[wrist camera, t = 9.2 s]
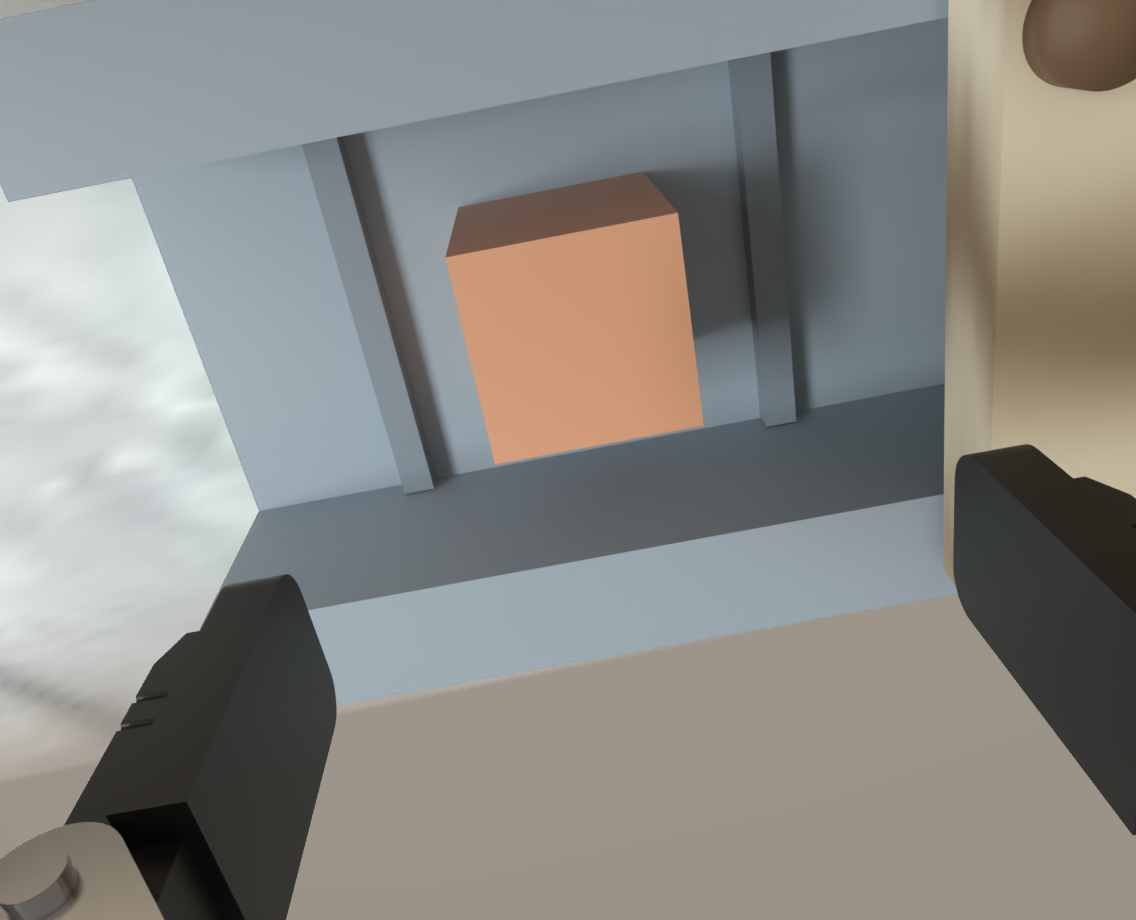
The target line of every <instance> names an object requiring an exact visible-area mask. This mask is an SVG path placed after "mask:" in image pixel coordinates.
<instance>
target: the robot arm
mask: <svg viewBox="0 0 1136 920" xmlns="http://www.w3.org/2000/svg"><path fill="white" fill-rule="evenodd" d="M953 572H954V579H955V585H956V589H957V592H958V596H959V599H960V601H961V604H962V606H963V608H964V610H965V612H966V614H967V616H968V618H969V619H970V620H971V622H972V623H973V624H974V626H975V627H976V629H977V630H978V631H979V632H980V634H981V635H982V636H983V638H984V639H985V640H986V642H987V643H988V644H989V646H990V647H991V648H992V650H993V651H994V652H995V654H996V655H997V656H998V658H999V659H1000V660H1001V662H1002V663H1003V664H1004V666H1005V667H1006V668H1007V669H1008V671H1009V672H1010V673H1011V675H1012V676H1013V677H1014V679H1015V680H1016V681H1017V683H1018V684H1019V685H1020V687H1021V688H1022V689H1023V691H1024V692H1025V693H1026V695H1027V696H1028V697H1029V699H1030V700H1031V701H1032V703H1033V704H1034V705H1035V706H1036V708H1037V709H1038V711H1040V713H1041V714H1042V716H1043V717H1044V718H1045V720H1046V721H1047V722H1048V724H1049V725H1050V726H1051V728H1052V729H1053V730H1054V732H1055V733H1056V734H1057V736H1058V737H1059V738H1060V740H1061V741H1062V742H1063V744H1064V745H1065V746H1066V748H1067V749H1068V750H1069V752H1070V753H1071V754H1072V755H1073V757H1074V758H1075V759H1076V761H1077V762H1078V763H1079V765H1080V766H1081V767H1082V769H1083V770H1084V771H1085V773H1086V774H1087V775H1088V777H1089V778H1090V779H1091V780H1092V782H1093V783H1094V784H1095V786H1096V787H1097V789H1098V790H1099V791H1100V793H1101V794H1102V795H1103V797H1104V798H1105V799H1106V800H1107V802H1108V803H1109V804H1110V806H1111V807H1112V808H1113V810H1114V811H1115V812H1116V814H1117V815H1118V816H1119V818H1120V819H1121V820H1122V822H1123V823H1124V824H1125V826H1126V827H1127V828H1128V830H1129V831H1130V832H1131V833H1132V835H1136V498H1135V497H1133V496H1132V495H1131V494H1128V493H1126V492H1123V491H1121V490H1118V489H1116V488H1113V487H1110V486H1108V485H1105V484H1103V483H1100V482H1098V481H1095V480H1093V479H1090V478H1088V477H1085V476H1084V477H1078V478H1072V477H1071V476H1070V475H1069V474H1067V473H1066V472H1065V471H1064V470H1063V469H1061V468H1060V467H1059V466H1058V465H1057V464H1055V463H1054V462H1053V461H1052V460H1050V459H1049V458H1048V457H1047V456H1046V455H1044V454H1043V453H1042V452H1041V451H1040V450H1038V449H1037V448H1036V447H1034V446H1032V445H1030V444H1023V445H1018V446H1012V447H1007V448H1001V449H995V450H990V451H984V452H978V453H973V454H967V455H963V456H962V457H961V458H959V460H958V462H957V465H956V469H955V484H954V543H953ZM136 700H137V702H136V703H133V704H132V705H131V707H130V708H129V710H128V712H127V714H126V715H125V717H124V719H123V721H122V723H121V731H117V732H116V733H115V735H114V737H113V739H112V741H111V742H110V744H109V746H108V748H107V750H106V751H105V753H104V755H103V757H102V758H101V760H100V762H99V764H98V766H97V767H96V769H95V771H94V773H93V775H92V776H91V778H90V780H89V782H88V784H87V785H86V787H85V789H84V791H83V793H82V794H81V796H80V798H79V800H78V801H77V803H76V805H75V807H74V809H73V810H72V812H71V814H70V816H69V818H68V819H67V821H66V823H65V825H64V826H62V827H59V828H55V829H52V830H50V831H47V832H45V833H43V834H40V835H38V836H36V837H34V838H33V839H31V840H29V841H27V842H25V843H23V844H22V845H20V846H19V847H17V848H15V849H14V850H12V851H11V852H9V853H8V854H7V855H5V856H4V857H3V858H1V859H0V920H286V917H287V913H288V909H289V905H290V901H291V897H292V893H293V890H294V886H295V882H296V878H297V874H298V870H299V866H300V862H301V858H302V854H303V850H304V846H305V842H306V838H307V835H308V831H309V827H310V823H311V819H312V814H313V810H314V807H315V803H316V799H317V795H318V791H319V787H320V783H321V779H322V775H323V771H324V768H325V764H326V760H327V755H328V752H329V748H330V744H331V740H332V736H333V732H334V728H335V723H336V694H335V687H334V682H333V678H332V675H331V672H330V669H329V666H328V663H327V661H326V658H325V655H324V652H323V650H322V647H321V644H320V642H319V639H318V636H317V633H316V631H315V628H314V625H313V622H312V620H311V617H310V614H309V612H308V609H307V606H306V603H305V601H304V598H303V595H302V593H301V590H300V588H299V586H298V584H297V582H296V581H295V579H294V578H293V577H292V576H290V575H289V574H284V575H279V576H273V577H267V578H262V579H256V580H251V581H245V582H239V583H234V584H228V585H226V586H224V587H223V588H222V590H221V591H220V593H219V595H218V597H217V599H216V601H215V603H214V605H213V607H212V609H211V611H210V613H209V615H208V617H207V618H206V620H205V622H204V624H203V626H202V628H201V630H200V631H197V632H191V633H187V634H185V635H184V636H183V637H182V638H181V639H180V640H179V641H178V642H177V643H176V644H175V645H174V646H173V647H172V648H171V649H170V650H169V651H168V652H167V653H165V654H164V655H163V656H162V657H161V658H160V659H159V660H158V661H157V662H156V663H155V664H154V665H153V667H152V669H151V671H150V673H149V674H148V676H147V678H146V680H145V681H144V683H143V685H142V687H141V689H140V690H139V692H138V694H137V696H136Z"/></svg>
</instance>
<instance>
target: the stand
mask: <svg viewBox="0 0 1136 920" xmlns="http://www.w3.org/2000/svg"><path fill="white" fill-rule="evenodd" d="M947 101H948V0H92V1H87V2H82V3H77V4H72V5H67V6H62V7H57V8H53V9H48V10H43V11H38V12H33V13H28V14H23V15H18V16H13V17H8V18H3V19H0V184H1V187H2V189H3V191H4V193H5V196H6V198H7V200H8V202H11V201H16V200H21V199H27V198H32V197H37V196H42V195H47V194H52V193H57V192H62V191H67V190H72V189H77V188H82V187H88V186H93V185H98V184H103V183H108V182H113V181H118V180H123V179H128V178H132V179H133V182H134V185H135V187H136V190H137V193H138V195H139V198H140V200H141V203H142V206H143V208H144V211H145V214H146V216H147V219H148V221H149V224H150V227H151V229H152V232H153V234H154V237H155V240H156V242H157V245H158V248H159V250H160V253H161V255H162V258H163V261H164V263H165V266H166V269H167V271H168V274H169V276H170V279H171V282H172V284H173V287H174V289H175V292H176V295H177V297H178V300H179V303H180V305H181V308H182V310H183V313H184V316H185V318H186V321H187V324H188V326H189V329H190V331H191V334H192V337H193V339H194V342H195V344H196V347H197V350H198V352H199V355H200V358H201V360H202V363H203V365H204V368H205V371H206V373H207V376H208V379H209V381H210V384H211V386H212V389H213V392H214V394H215V397H216V399H217V402H218V405H219V407H220V410H221V413H222V415H223V418H224V420H225V423H226V426H227V428H228V431H229V434H230V436H231V439H232V441H233V444H234V447H235V449H236V452H237V454H238V457H239V460H240V462H241V465H242V468H243V470H244V473H245V475H246V478H247V481H248V483H249V486H250V489H251V491H252V494H253V496H254V499H255V502H256V504H257V507H258V509H259V512H258V514H257V516H256V518H255V520H254V522H253V524H252V526H251V528H250V530H249V532H248V534H247V536H246V538H245V540H244V542H243V544H242V546H241V548H240V550H239V552H238V554H237V556H236V558H235V560H234V562H233V564H232V566H231V568H230V570H229V572H228V574H227V576H226V578H225V580H224V582H223V584H222V586H221V588H220V590H219V592H218V594H217V596H216V598H215V600H214V602H213V604H212V606H211V608H210V610H209V612H208V614H207V616H206V618H207V617H208V615H209V613H210V611H211V609H212V607H213V605H214V603H215V601H216V599H217V597H218V595H219V593H220V591H221V590H222V588H223V587H224V586H226V585H228V584H234V583H239V582H245V581H251V580H256V579H262V578H267V577H273V576H279V575H284V574H289V575H290V576H292V577H293V578H294V579H295V581H296V582H297V584H298V586H299V588H300V590H301V593H302V595H303V598H304V601H305V603H306V606H307V609H308V612H309V614H310V617H311V620H312V622H313V625H314V628H315V631H316V633H317V636H318V639H319V642H320V644H321V647H322V650H323V652H324V655H325V658H326V661H327V663H328V666H329V669H330V672H331V675H332V678H333V682H334V687H335V694H336V706H337V705H342V704H348V703H353V702H359V701H364V700H370V699H375V698H381V697H387V696H392V695H398V694H403V693H409V692H414V691H420V690H426V689H431V688H437V687H442V686H448V685H453V684H459V683H464V682H470V681H476V680H481V679H487V678H492V677H498V676H503V675H509V674H515V673H520V672H526V671H531V670H537V669H542V668H548V667H553V666H559V665H565V664H570V663H576V662H581V661H587V660H592V659H598V658H604V657H609V656H615V655H620V654H626V653H631V652H637V651H642V650H648V649H654V648H659V647H665V646H670V645H676V644H681V643H687V642H693V641H698V640H704V639H709V638H715V637H720V636H726V635H731V634H737V633H743V632H748V631H754V630H759V629H765V628H770V627H776V626H782V625H787V624H793V623H798V622H804V621H809V620H815V619H820V618H826V617H832V616H837V615H843V614H848V613H854V612H859V611H865V610H871V609H876V608H881V607H887V606H893V605H898V604H904V603H910V602H914V601H921V600H926V599H932V598H937V597H943V596H948V595H954V594H958V592H957V589H956V585H955V584H954V582H953V581H952V580H951V579H950V577H949V576H948V575H947V573H946V572H945V571H944V570H943V517H944V413H945V309H946V205H947ZM638 172H644V173H645V174H646V175H647V177H648V178H649V179H650V180H651V181H652V183H653V184H654V185H655V186H656V187H657V188H658V190H659V191H660V192H661V193H662V194H663V196H664V197H665V198H666V199H667V200H668V202H669V203H670V204H671V205H672V206H673V207H674V209H675V210H676V211H677V212H678V217H679V225H680V234H681V242H682V250H683V258H684V266H685V275H686V283H687V291H688V299H689V308H690V316H691V324H692V332H693V341H694V349H695V357H696V365H697V373H698V382H699V390H700V398H701V406H702V415H703V423H704V426H699V427H694V428H689V429H683V430H678V431H673V432H667V433H662V434H656V435H651V436H646V437H640V438H635V439H630V440H624V441H619V442H613V443H608V444H603V445H597V446H592V447H587V448H581V449H576V450H570V451H565V452H560V453H554V454H549V455H544V456H538V457H533V458H527V459H522V460H517V461H511V462H506V463H501V464H495V463H494V458H493V454H492V450H491V446H490V442H489V438H488V433H487V429H486V425H485V421H484V417H483V413H482V409H481V404H480V400H479V396H478V392H477V388H476V384H475V379H474V375H473V371H472V367H471V363H470V359H469V354H468V350H467V346H466V342H465V338H464V334H463V330H462V325H461V321H460V317H459V313H458V309H457V305H456V300H455V296H454V292H453V288H452V284H451V280H450V275H449V271H448V267H447V263H446V259H445V256H446V253H447V249H448V245H449V241H450V237H451V234H452V230H453V226H454V222H455V218H456V214H457V211H458V207H462V206H467V205H473V204H478V203H483V202H488V201H493V200H498V199H504V198H509V197H514V196H519V195H524V194H529V193H534V192H540V191H545V190H550V189H555V188H560V187H565V186H571V185H576V184H581V183H586V182H591V181H596V180H602V179H607V178H612V177H617V176H622V175H627V174H632V173H638ZM206 618H205V620H206ZM205 620H204V622H205ZM204 622H203V624H204ZM203 624H202V626H203ZM202 626H201V628H202ZM201 628H200V630H201Z"/></svg>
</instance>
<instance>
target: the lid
mask: <svg viewBox="0 0 1136 920" xmlns="http://www.w3.org/2000/svg"><path fill="white" fill-rule="evenodd" d="M1023 444H1030V445H1032V446H1034V447H1036V448H1037V449H1038V450H1040V451H1041V452H1042V453H1043V454H1044V455H1046V456H1047V457H1048V458H1049V459H1050V460H1052V461H1053V462H1054V463H1055V464H1057V465H1058V466H1059V467H1060V468H1061V469H1063V470H1064V471H1065V472H1066V473H1067V474H1069V475H1070V476H1071V477H1072V478H1078V477H1084V476H1085V477H1088V478H1090V479H1093V480H1095V481H1098V482H1100V483H1103V484H1105V485H1108V486H1110V487H1113V488H1116V489H1118V490H1121V491H1123V492H1126V493H1128V494H1131V495H1132V496H1133V497H1135V498H1136V0H948V101H947V205H946V309H945V413H944V517H943V570H944V571H945V572H946V573H947V575H948V576H949V577H950V579H951V580H952V581H953V582H954V584H955V579H954V572H953V543H954V484H955V469H956V465H957V462H958V460H959V458H961V457H962V456H963V455H967V454H973V453H978V452H984V451H990V450H995V449H1001V448H1007V447H1012V446H1018V445H1023Z"/></svg>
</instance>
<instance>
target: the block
mask: <svg viewBox="0 0 1136 920" xmlns="http://www.w3.org/2000/svg"><path fill="white" fill-rule="evenodd" d="M445 259H446V263H447V267H448V271H449V275H450V280H451V284H452V288H453V292H454V296H455V300H456V305H457V309H458V313H459V317H460V321H461V325H462V330H463V334H464V338H465V342H466V346H467V350H468V354H469V359H470V363H471V367H472V371H473V375H474V379H475V384H476V388H477V392H478V396H479V400H480V404H481V409H482V413H483V417H484V421H485V425H486V429H487V433H488V438H489V442H490V446H491V450H492V454H493V458H494V463H495V464H501V463H506V462H511V461H517V460H522V459H527V458H533V457H538V456H544V455H549V454H554V453H560V452H565V451H570V450H576V449H581V448H587V447H592V446H597V445H603V444H608V443H613V442H619V441H624V440H630V439H635V438H640V437H646V436H651V435H656V434H662V433H667V432H673V431H678V430H683V429H689V428H694V427H699V426H704V423H703V415H702V406H701V398H700V390H699V382H698V373H697V365H696V357H695V349H694V341H693V332H692V324H691V316H690V308H689V299H688V291H687V283H686V275H685V266H684V258H683V250H682V242H681V234H680V225H679V217H678V212H677V211H676V210H675V209H674V207H673V206H672V205H671V204H670V203H669V202H668V200H667V199H666V198H665V197H664V196H663V194H662V193H661V192H660V191H659V190H658V188H657V187H656V186H655V185H654V184H653V183H652V181H651V180H650V179H649V178H648V177H647V175H646V174H645V173H644V172H638V173H632V174H627V175H622V176H617V177H612V178H607V179H602V180H596V181H591V182H586V183H581V184H576V185H571V186H565V187H560V188H555V189H550V190H545V191H540V192H534V193H529V194H524V195H519V196H514V197H509V198H504V199H498V200H493V201H488V202H483V203H478V204H473V205H467V206H462V207H458V211H457V214H456V218H455V222H454V226H453V230H452V234H451V237H450V241H449V245H448V249H447V253H446V256H445Z"/></svg>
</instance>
